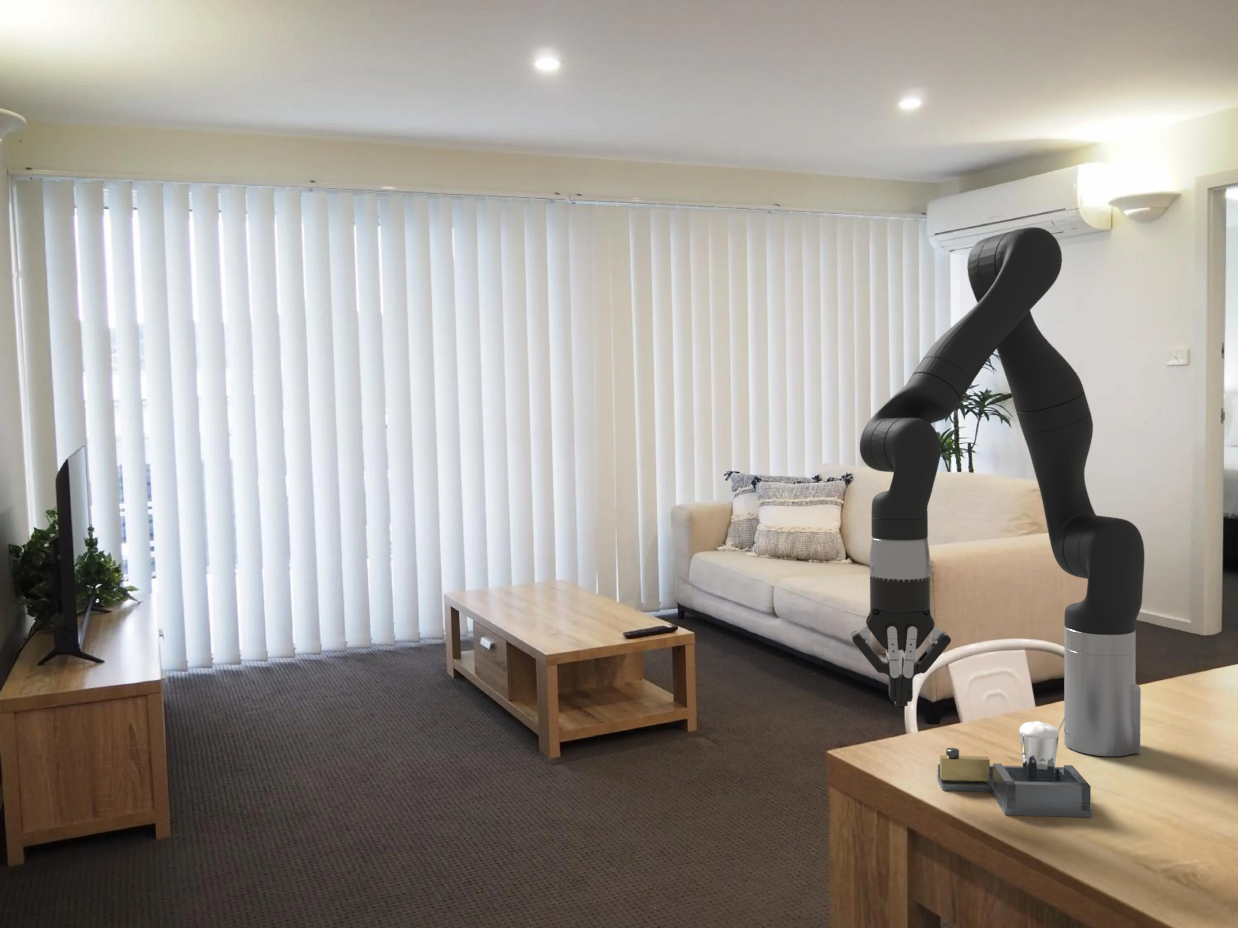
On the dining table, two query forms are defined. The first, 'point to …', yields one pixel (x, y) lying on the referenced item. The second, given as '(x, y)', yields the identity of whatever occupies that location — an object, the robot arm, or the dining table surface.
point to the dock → (1032, 792)
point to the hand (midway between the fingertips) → (900, 704)
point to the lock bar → (964, 767)
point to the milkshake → (1039, 751)
